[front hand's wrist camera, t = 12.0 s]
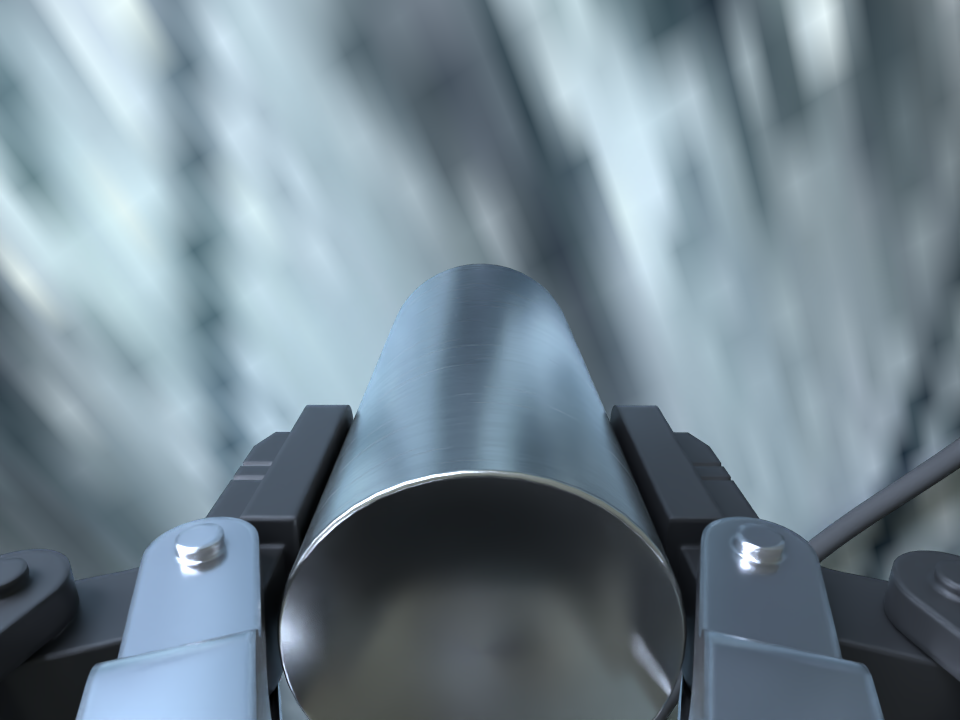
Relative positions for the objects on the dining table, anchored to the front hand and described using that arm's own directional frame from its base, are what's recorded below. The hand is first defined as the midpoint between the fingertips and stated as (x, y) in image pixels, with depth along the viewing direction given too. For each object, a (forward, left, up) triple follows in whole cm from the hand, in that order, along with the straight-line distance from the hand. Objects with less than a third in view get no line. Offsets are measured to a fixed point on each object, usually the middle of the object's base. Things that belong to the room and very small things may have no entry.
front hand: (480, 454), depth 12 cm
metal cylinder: (0, 0, -5) cm, 5 cm away
